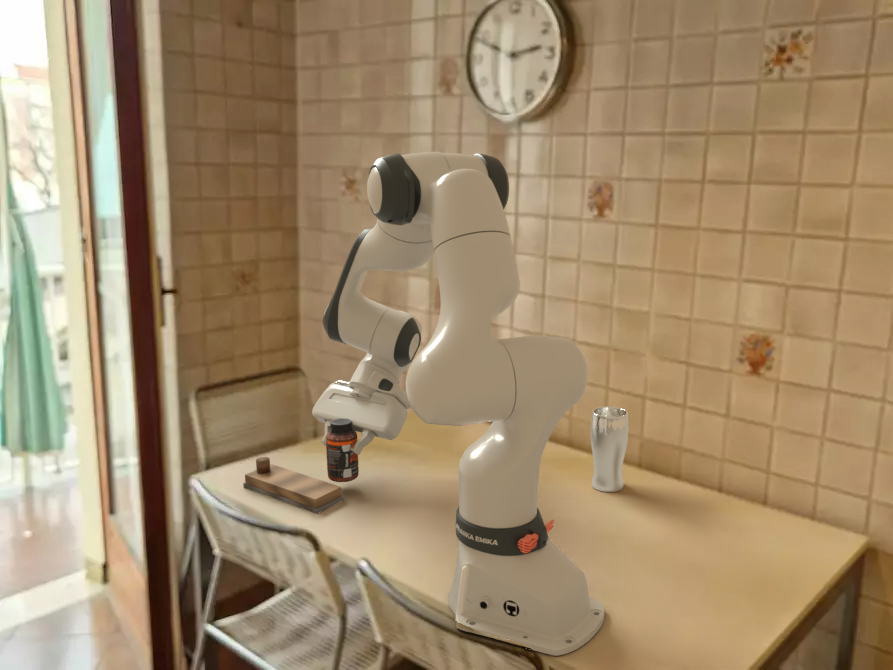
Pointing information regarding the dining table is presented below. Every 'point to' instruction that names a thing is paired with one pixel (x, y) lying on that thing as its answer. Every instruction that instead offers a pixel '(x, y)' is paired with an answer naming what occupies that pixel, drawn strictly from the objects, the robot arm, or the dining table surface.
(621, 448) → the beer glass
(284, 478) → the body
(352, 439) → the supplement bottle
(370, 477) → the dining table surface
